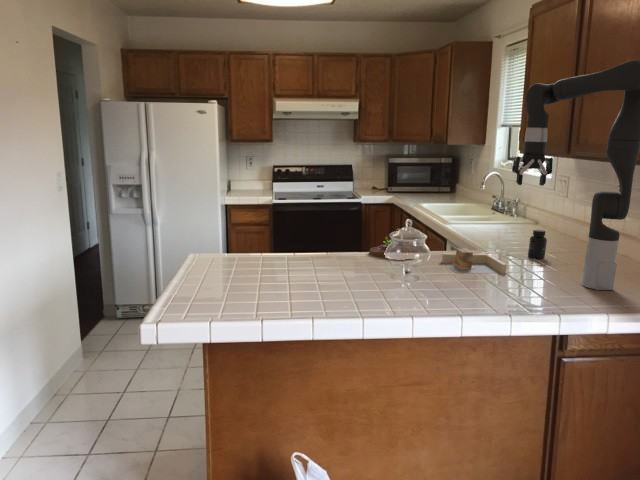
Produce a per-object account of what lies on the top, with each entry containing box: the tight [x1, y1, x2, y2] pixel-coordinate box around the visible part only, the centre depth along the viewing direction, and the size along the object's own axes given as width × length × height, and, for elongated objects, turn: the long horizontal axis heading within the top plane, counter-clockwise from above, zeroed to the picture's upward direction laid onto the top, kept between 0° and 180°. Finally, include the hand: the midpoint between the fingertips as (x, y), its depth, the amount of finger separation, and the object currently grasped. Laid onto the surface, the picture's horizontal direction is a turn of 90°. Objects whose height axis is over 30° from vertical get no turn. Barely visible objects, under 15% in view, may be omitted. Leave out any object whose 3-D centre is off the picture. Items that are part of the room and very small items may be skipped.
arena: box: [440, 252, 508, 275], centre depth 202 cm, size 18×19×4 cm
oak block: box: [455, 247, 474, 268], centre depth 202 cm, size 4×7×6 cm, turn 5°
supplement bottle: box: [527, 229, 548, 260], centre depth 223 cm, size 7×7×12 cm
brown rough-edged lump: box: [368, 228, 401, 259], centre depth 221 cm, size 20×20×11 cm
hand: (530, 185), depth 194 cm, fingers open, 8 cm apart
